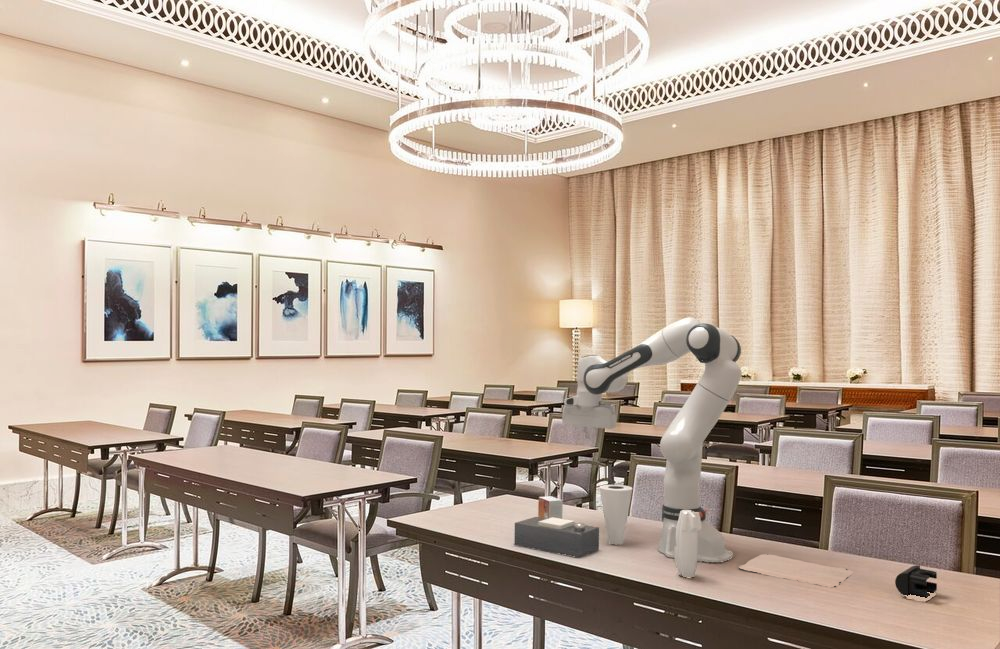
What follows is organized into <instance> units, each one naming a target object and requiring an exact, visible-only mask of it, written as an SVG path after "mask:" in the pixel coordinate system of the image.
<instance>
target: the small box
mask: <svg viewBox="0 0 1000 649" xmlns="http://www.w3.org/2000/svg"><path fill="white" fill-rule="evenodd" d="M563 504H564V503H563V499H559V498H558V497H555V496H552V495H551V496H549V495H548V496H539V497H538V507H537V508H538V509H537V510H538V512H537V514H538V515H537V517H540V518H546V519H549V518H552V517H554V518H560V519H563Z"/></svg>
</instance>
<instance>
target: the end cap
mask: <svg viewBox="0 0 1000 649" xmlns="http://www.w3.org/2000/svg"><path fill="white" fill-rule="evenodd" d="M937 573H938V572H937V571H935V570H929V569H924V568H921V565H913V566H910V567H909V568H907V569H906V570H904V571H902V572H900V573H898V575H897V576H896V577H895V580H894V581H895V583H894V584H895V587H896V590H897V591H898V592H899V593H900V594H901V595H902V594H903V595H907V596H908V595H910V594H911V595H916V596H920V597H925V598H927V597H928V596H930V594H929V593H927V592H930V593H934V592H935V593H936V592H937V589H938V583H936V582H932V581H927V580H928V579H930V578H931V579H934V580H935V579H937V576H938V574H937ZM903 595H902V596H903Z"/></svg>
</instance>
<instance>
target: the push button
mask: <svg viewBox="0 0 1000 649" xmlns="http://www.w3.org/2000/svg"><path fill="white" fill-rule="evenodd" d="M575 523H576V521H575V520H571V519H564V518H562V519H560V518H554V517H552V518H549V519H545V520H542V521H539V522H538V526H544V527H549V528H555V529H564V528H567V527H570V526H573V525H574V524H575Z"/></svg>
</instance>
